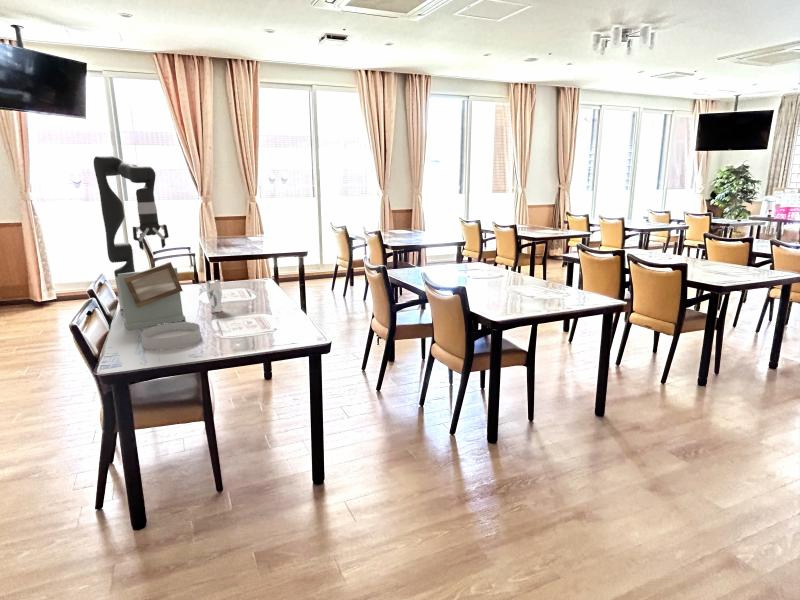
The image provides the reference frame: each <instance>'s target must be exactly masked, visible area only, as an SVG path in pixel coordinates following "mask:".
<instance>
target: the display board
mask: <svg viewBox="0 0 800 600" xmlns="http://www.w3.org/2000/svg"><path fill="white" fill-rule="evenodd" d="M173 268H174V271H175V273H176V276H177V278H178V279H179V275H178V274H179V273H178V267H175V266H174V267H173ZM143 271H144V270H140V271H135V272H130V273H121V274H118V280H119V286H120V292H121V299H122V305H123V310H122V311H123V315H124V316H123V318H124V319H123V321H124V326H125V325H126V326H125V328H126V330H127V331H131V330H136V328H137V329H142V328H141V327H144V328H148V327H147V326H150V327H154V325H156V326H158V324H162V325H163V324H164V323H171V322H174V323H177V322H176V321H180V322H183V321H182V320H186V315H185V314H184V312H183V305H182V298H181V292H179V293H176V294H173V295H171V296H168V297H165V298H163V299H160V300H158V301H155V302H152V303H150V304H147V305H144V306H142V307H139V308H137V306H136V304H135V302H134V299H133V297H132V295H131V293H130V291H129V288H128V286H127V284H126V282H125V280H124V278H125V277H128V276H131V275H134V274H137V273H140V272H143ZM186 321H187V320H186Z"/></svg>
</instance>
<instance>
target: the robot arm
mask: <svg viewBox="0 0 800 600" xmlns="http://www.w3.org/2000/svg"><path fill="white" fill-rule="evenodd" d="M93 168H94V173H95V178H96V182H97V186H98V190H99V197H100V207H101V211H102V212H101V213H102V218H103V224H104V230H105V241H106V252H107V256H108V261H110V263H115V264H116V263H124V262H125V264H124V265H122V266H120V267H119V268H116V269H115V270H114V272H113V273H114V279H115V284H116V285H115V286H116V291H117V298H118V303H119V304H118V305H119V309H120V310H121V309H123V305H122V299H121V292H120V286H119V280H118V274H121V273H130V272H136V270H135V262H134V252H133V251H134V250H133V248H132V245H131V244H130V243H129V242H122V243H121V242H120V243H119V242H118V243H115V238H116V235H117V234H118V233H117V232H118V231H119V229H120V227H121V225H122V223H123V221H124V219H125V211H124V204H123V201H122V200H121V199H120V197H118V195H117V194H116V193H115V192H114V190H112V188H111V186H110V184H109V182H108V178H107V177H113V176H115V177H116V176H121V177H122V178H124V179H126V180H129V181H130V182H131V183H132V184H133V183H134V184H144V186H143V187H142V188H141V187H140V188H138V189H136V190H135V196H136V203H137V214H138V220H139V226H132V237H133V241H137V242H138V245H139V249H140V250H141V251H143V250H144V242H143V239H144V238H145V236H147V237H148V236H156V235H157V236H158V237H159V238H160V244H161V248H162V249H163V248H165V247H166V239H168V238H169V237H170V236H169V231H168V227H167V224H161V225H160V223H159V218H158V210H157V205H156V203H155V202H156V200H155V195H154V194H155V193H154V191H155V184H156V172H155V171H154V169H153V167H151V166H138V165H136V164H133V163H129V162H126V161H124V160H123V159H121V158H120V157H118V156H114V155H97V156H95V157H94V159H93ZM160 228H161V230H163V233H164V235H163V234H161V232H159V231H160ZM139 230H140V231H141V234H140V235H139V237H138V233H139ZM144 251H145V250H144Z"/></svg>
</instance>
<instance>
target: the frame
mask: <svg viewBox="0 0 800 600" xmlns="http://www.w3.org/2000/svg"><path fill="white" fill-rule="evenodd" d="M174 268H175V267H174V266H173V263H172V261H168V262H166V263H164V264H160V265H157V266H155V267H151V268H149V269H146V270H142V271H143V272H140V273H137V274H134V275H131V276H128V277H125V278H124V280H125V282H126V284H127V286H128V288H129V291H130V293H131V295H132V297H133V299H134V302H135V304H136V306H137V308H139V307H142V306H144V305H147V304H150V303H152V302H155V301H158V300H160V299H163V298H165V297H168V296H171V295H173V294H176V293H179V292H180V293H182V292H184V290H183V289H182V288H183V287H182V285H181V283H180V280H179V277H178V278H177V276H176V273H175V271H174Z"/></svg>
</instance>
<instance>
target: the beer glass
mask: <svg viewBox="0 0 800 600" xmlns="http://www.w3.org/2000/svg"><path fill="white" fill-rule="evenodd" d="M205 288H206V295H207V299H208V302H209V312H210V313H212V314H216V313H215V312H218V313H221V311H222V312H223V311H224V309H223V306H222V297H223V292H222V283H221V280H219V279H213V280H208V281H207V280H206V281H205Z"/></svg>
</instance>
